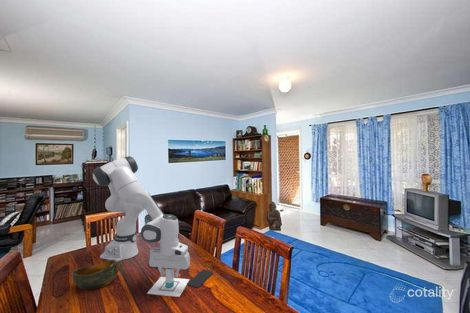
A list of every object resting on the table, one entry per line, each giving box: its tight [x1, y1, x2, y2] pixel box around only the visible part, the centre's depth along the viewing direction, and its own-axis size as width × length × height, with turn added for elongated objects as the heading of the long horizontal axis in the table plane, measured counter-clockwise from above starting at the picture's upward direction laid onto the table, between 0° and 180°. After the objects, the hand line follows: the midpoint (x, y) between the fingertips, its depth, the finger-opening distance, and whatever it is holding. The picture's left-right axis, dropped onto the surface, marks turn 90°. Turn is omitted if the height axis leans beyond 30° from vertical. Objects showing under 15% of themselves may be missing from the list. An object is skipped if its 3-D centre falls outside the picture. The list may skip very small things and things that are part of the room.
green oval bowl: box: [71, 260, 124, 290], centre depth 102 cm, size 13×20×10 cm, turn 79°
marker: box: [164, 268, 175, 288], centre depth 100 cm, size 4×4×10 cm
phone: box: [186, 269, 214, 289], centre depth 107 cm, size 7×1×15 cm
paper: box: [146, 276, 190, 298], centre depth 100 cm, size 16×13×1 cm
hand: (169, 275), depth 100 cm, fingers open, 6 cm apart
